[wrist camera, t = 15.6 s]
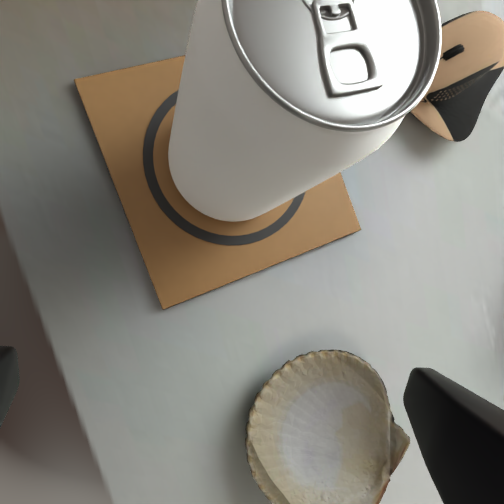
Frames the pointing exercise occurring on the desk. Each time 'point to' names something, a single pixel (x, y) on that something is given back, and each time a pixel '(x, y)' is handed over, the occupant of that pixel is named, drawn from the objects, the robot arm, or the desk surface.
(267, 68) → the can
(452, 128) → the computer mouse
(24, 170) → the desk surface
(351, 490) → the seashell
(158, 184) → the circle card
